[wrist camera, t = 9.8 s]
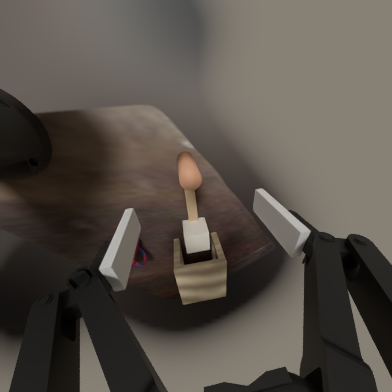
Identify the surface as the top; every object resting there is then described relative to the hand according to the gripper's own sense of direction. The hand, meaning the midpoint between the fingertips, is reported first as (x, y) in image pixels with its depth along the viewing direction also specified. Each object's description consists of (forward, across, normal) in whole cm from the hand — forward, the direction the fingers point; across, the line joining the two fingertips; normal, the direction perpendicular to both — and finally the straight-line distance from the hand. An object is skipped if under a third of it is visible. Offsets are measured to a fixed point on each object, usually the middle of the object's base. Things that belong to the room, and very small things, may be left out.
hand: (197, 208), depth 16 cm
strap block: (+18, 0, -10) cm, 21 cm away
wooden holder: (+18, 0, -31) cm, 36 cm away
